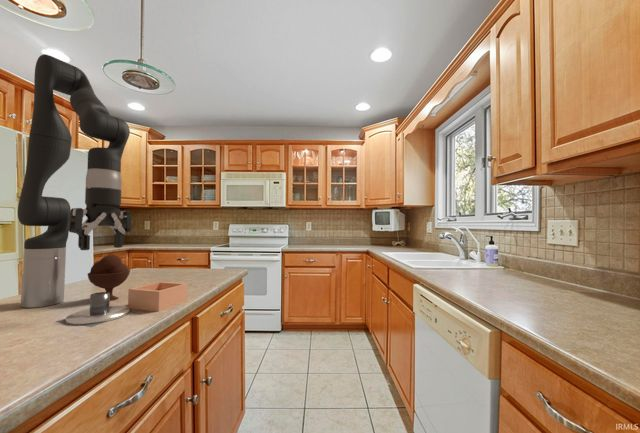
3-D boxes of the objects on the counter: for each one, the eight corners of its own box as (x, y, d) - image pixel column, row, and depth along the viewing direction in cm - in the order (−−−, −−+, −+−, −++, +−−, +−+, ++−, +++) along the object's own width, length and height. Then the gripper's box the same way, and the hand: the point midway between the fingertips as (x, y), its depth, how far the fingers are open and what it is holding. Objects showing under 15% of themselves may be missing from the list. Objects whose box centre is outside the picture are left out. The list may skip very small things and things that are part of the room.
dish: (127, 309, 78) (128, 289, 79) (159, 300, 89) (159, 281, 89) (158, 313, 76) (159, 291, 76) (187, 302, 86) (187, 283, 86)
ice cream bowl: (137, 297, 93) (138, 253, 93) (108, 306, 81) (110, 256, 82) (108, 296, 94) (110, 252, 94) (76, 305, 83) (78, 256, 83)
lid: (52, 321, 67) (53, 298, 67) (106, 306, 79) (106, 286, 80) (91, 327, 63) (92, 302, 64) (141, 310, 76) (141, 289, 76)
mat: (55, 323, 67) (55, 321, 67) (105, 309, 79) (105, 307, 79) (91, 329, 64) (92, 326, 64) (138, 313, 76) (138, 311, 76)
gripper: (119, 191, 80) (117, 246, 80) (62, 184, 67) (60, 250, 66) (139, 190, 79) (137, 247, 78) (85, 183, 65) (83, 251, 64)
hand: (102, 248), depth 72 cm, fingers open, 8 cm apart
